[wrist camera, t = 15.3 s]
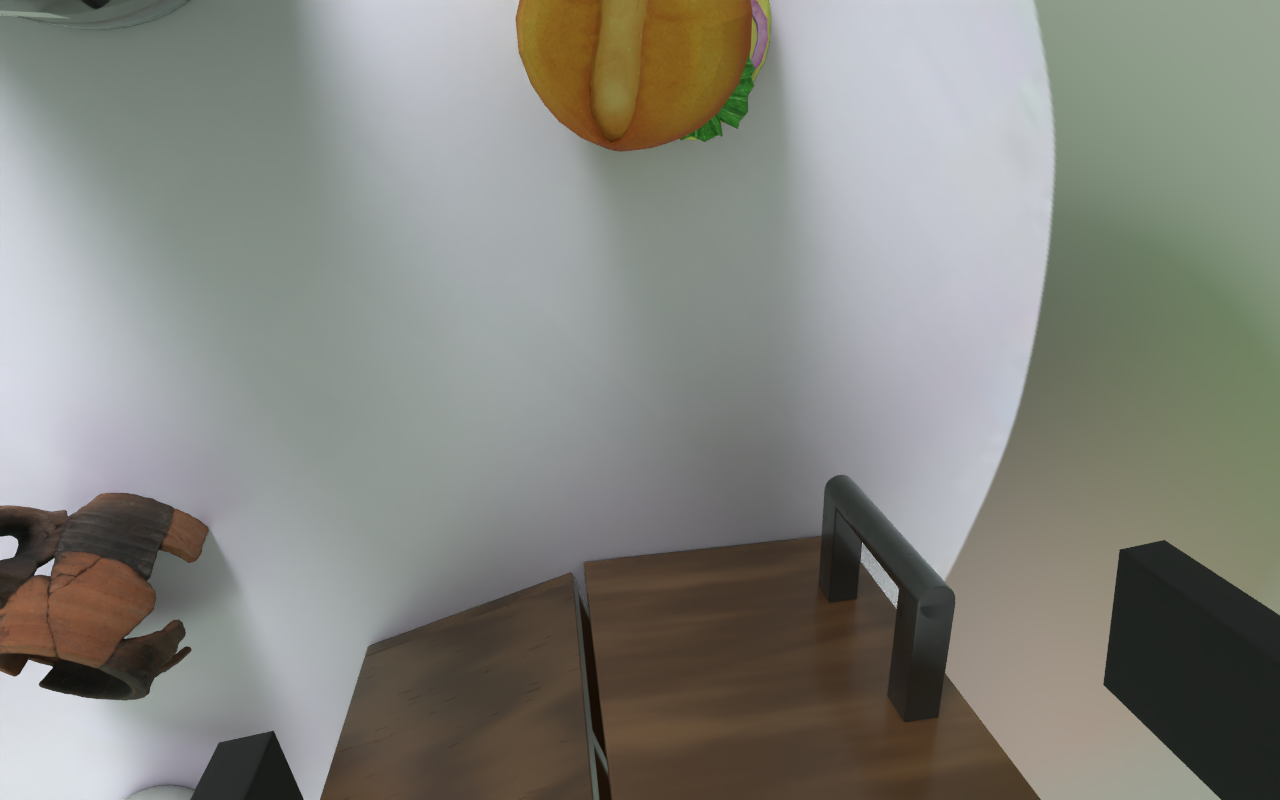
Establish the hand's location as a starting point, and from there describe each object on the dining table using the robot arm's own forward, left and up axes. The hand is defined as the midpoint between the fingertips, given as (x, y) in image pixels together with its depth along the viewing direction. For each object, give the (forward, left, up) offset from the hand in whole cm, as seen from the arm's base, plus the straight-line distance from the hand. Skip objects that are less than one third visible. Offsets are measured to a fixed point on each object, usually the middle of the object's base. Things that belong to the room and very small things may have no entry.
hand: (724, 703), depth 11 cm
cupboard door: (+7, +13, -29) cm, 32 cm away
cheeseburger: (-12, -4, -29) cm, 32 cm away
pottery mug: (+25, -15, -29) cm, 41 cm away
